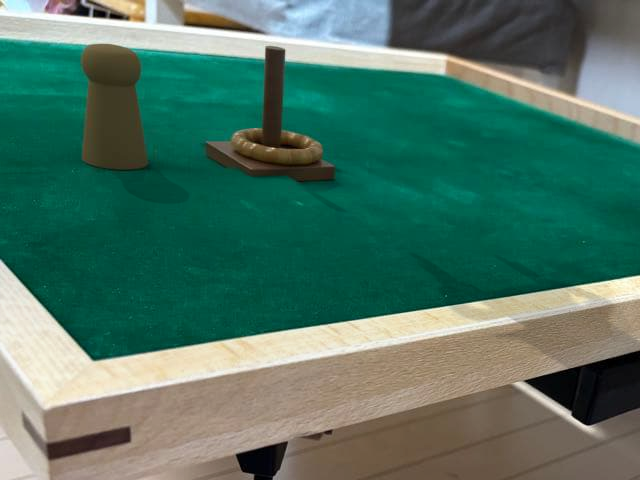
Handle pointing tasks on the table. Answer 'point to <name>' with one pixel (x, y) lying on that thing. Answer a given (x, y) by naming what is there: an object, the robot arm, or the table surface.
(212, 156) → the post
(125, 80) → the cork
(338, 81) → the table surface
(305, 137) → the ring
